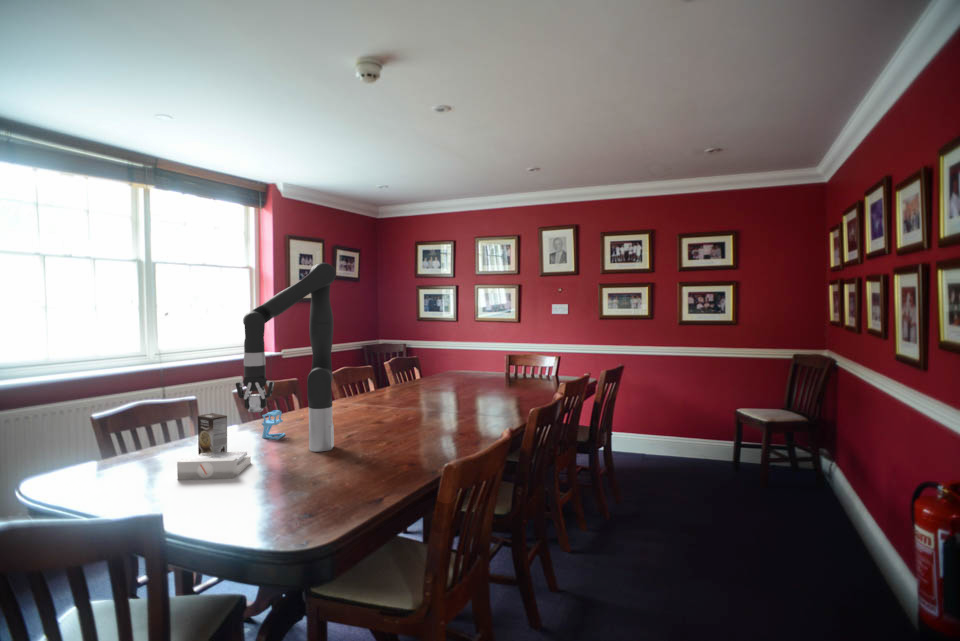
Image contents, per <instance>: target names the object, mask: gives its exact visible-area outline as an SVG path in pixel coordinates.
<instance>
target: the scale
mask: <svg viewBox="0 0 960 641" xmlns="http://www.w3.org/2000/svg"><path fill="white" fill-rule="evenodd" d="M251 461H252V459H251V456H250V455H249V456H248V455H247V456H245V457H244V458H243V459H242V460H241V461H239V462H238V463H237V458H213V459H193V458H190V459H189V458H187V459H184V458H181V459H180V460H178V461H176V465H177V466H176V468H177V470H176V472H177V475H176V476H177V481H186V480H187V481H189V480H213V479H214V480H216V479H217V480H218V479H235V477H237V476H238V475H239V474H240V473H241V472H242V471H244V470H245V469H246V468H247V467H248V466H249V465H250V464H251Z"/></svg>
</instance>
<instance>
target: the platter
mask: <svg viewBox="0 0 960 641" xmlns="http://www.w3.org/2000/svg"><path fill="white" fill-rule="evenodd" d="M245 456H248V451H227V452H218V453H201V454H198V455H196V456H195V457H193V458H192V459H213V458H237V463H238V462H239V461H241V460H242V459H243V458H244V457H245Z"/></svg>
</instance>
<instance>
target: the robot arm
mask: <svg viewBox="0 0 960 641" xmlns="http://www.w3.org/2000/svg"><path fill="white" fill-rule="evenodd" d="M336 277H337V272H336V269H335V267H334V266H333V265H332V264H330V263H328V262H319V263H317V264H315V265H312V267H311V268H310V270H309V273H308V274H307V275H306V276H304V277H303V278H302V279H300V280H299V281H298V282H296V283H294V284H292V285H291V286H289V287H287V288H285V289H283V290H282V291H279V292H278V293H276V294H275V295H273V296H271V297H270V298H269V299H268V300H266V301H265V302H264V303H262V304H261V305H259V306H257V307H256V308H254V309H252V310H250V311H249V312H247V313H246V314H245V315H244V317H243V320H242V322H243V326H244V343H243V348H244V349H243V350H244V354H243V377H244V378H243V380H241V381H237V382H236V383H235V388H236V391H237V395H238V398H240V399H243V400H244V408H245V409H246V410H249V403H248V396H249V395H252V394H251V393H252V392H253V391H255V392H258V394H260V395H261V397H262V399H261V407H262V409H263V410H264V409H266V407H267V405H268V403H267V402H268V398H270V397H272V395H273V391H274V386H275V381H274V380H272V381H271V380H268V379H267V377H266V376H267V374H266V373H267V372H266V371H267V370H266V368H267V366H266V354H265V329H266V328H265V326H266V323H268V322H269V321H271V320H272V319H274V318H276V317H278V316H280V315H281V314H283V313H284V312H287V311H288V310H289V309H290V308H292V307H294V305H296V304H297V303H298V302H300V301H302V300H303V299H304V298H306V297H307V296H309V295H310V298H311V299H310V307H309V309H310V310H309V333H308V334H309V340H310V346H311V351H312V362H311V370H310V372H309V373H308V375H307V378H306V380H307V381H306V384H307V385H306V388H307V390H306V391H307V403H308V450H309V452H315V453H316V452H325V451H332V450H333V448H334V447H335V435H334V434H335V432H334V431H335V430H334V429H335V427H334V426H335V424H334V423H333V398H332V397H333V396H332V395H333V394H332V382H333V379H334V376H333V375H334V374H333V367H332V365H333V363H332V348H333V339H334V315H333V309H332V305H331V298H330V295H331V294H330V293H331V284H332V283H334V281H335V279H336ZM244 386H245V387H246V390H245V392H244V389H243V387H244ZM265 386H267V387H268V388H267V391H266V388H265Z"/></svg>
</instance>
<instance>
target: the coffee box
mask: <svg viewBox="0 0 960 641" xmlns="http://www.w3.org/2000/svg"><path fill="white" fill-rule="evenodd" d="M197 442H198V443H197V445H198V450H197V451H198V455H199V454H201V453H218V452H228V415H227V414H226V415H225V414H220V413H213V412H211V413H206V414H200V415H197Z"/></svg>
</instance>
